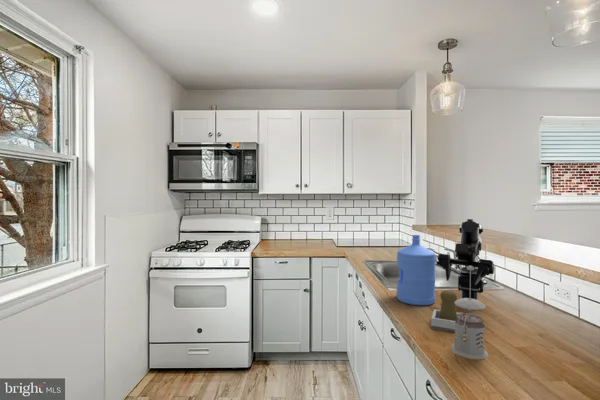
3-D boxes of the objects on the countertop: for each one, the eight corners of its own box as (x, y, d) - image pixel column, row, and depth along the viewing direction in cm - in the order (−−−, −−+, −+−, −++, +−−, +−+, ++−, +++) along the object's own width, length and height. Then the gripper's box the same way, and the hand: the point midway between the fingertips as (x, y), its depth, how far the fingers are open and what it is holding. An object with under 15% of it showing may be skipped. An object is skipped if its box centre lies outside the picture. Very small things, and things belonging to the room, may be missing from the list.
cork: (451, 319, 117) (451, 288, 117) (461, 326, 111) (461, 293, 111) (435, 319, 117) (435, 289, 116) (444, 326, 111) (444, 294, 110)
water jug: (440, 299, 142) (441, 235, 141) (425, 309, 130) (426, 238, 130) (406, 292, 153) (407, 232, 152) (390, 300, 141) (390, 235, 141)
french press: (493, 351, 96) (494, 265, 95) (480, 365, 87) (481, 272, 87) (458, 340, 103) (459, 260, 102) (442, 352, 94) (443, 266, 94)
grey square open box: (433, 318, 120) (433, 309, 120) (464, 323, 116) (464, 313, 116) (431, 328, 112) (431, 318, 111) (464, 334, 107) (464, 323, 107)
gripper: (439, 233, 129) (429, 265, 121) (493, 237, 117) (486, 273, 109) (445, 250, 136) (436, 282, 127) (497, 256, 123) (490, 291, 115)
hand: (460, 282), depth 120 cm, fingers open, 9 cm apart
